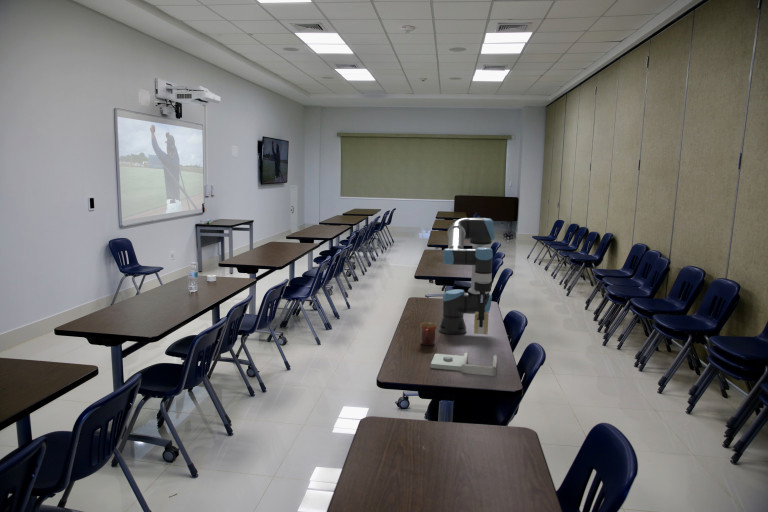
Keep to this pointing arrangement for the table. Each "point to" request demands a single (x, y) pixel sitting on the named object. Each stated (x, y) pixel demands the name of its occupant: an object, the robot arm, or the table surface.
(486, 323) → the chute block
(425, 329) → the mug
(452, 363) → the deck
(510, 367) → the table surface
